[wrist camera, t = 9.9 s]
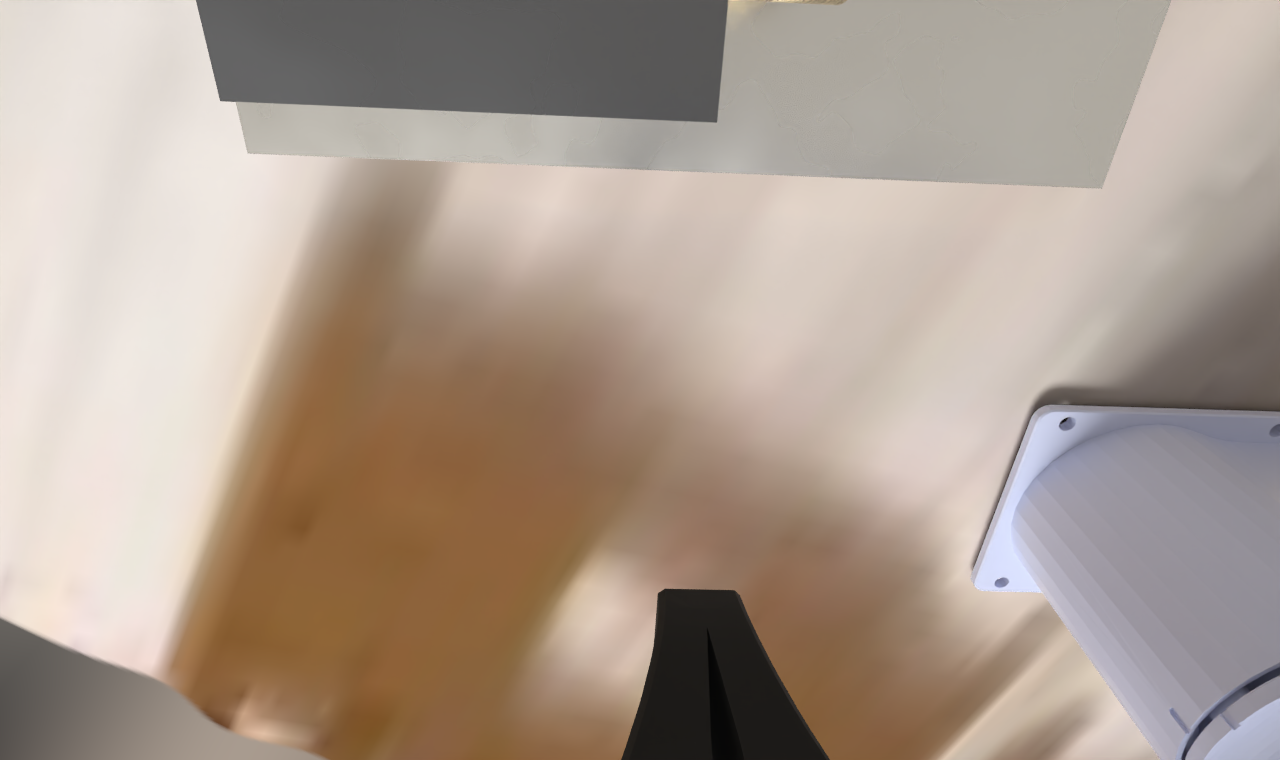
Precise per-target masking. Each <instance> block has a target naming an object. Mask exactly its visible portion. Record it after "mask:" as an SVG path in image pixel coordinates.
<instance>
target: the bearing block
mask: <svg viewBox="0 0 1280 760" xmlns="http://www.w3.org/2000/svg"><path fill="white" fill-rule="evenodd" d="M196 2H197V6H198V11H199V15H200V19H201V23H202V27H203V31H204V35H205V40H206V44H207V48H208V52H209V56H210V60H211V64H212V69H213V73H214V77H215V81H216V85H217V89H218V93H219V98H220V101H230V102H236V105H237V109H238V113H239V118H240V122H241V126H242V131H243V135H244V139H245V144H246V148H247V152H248V153H250V154H275V155H299V156H323V157H348V158H372V159H396V160H421V161H445V162H469V163H493V164H518V165H542V166H566V167H591V168H615V169H639V170H664V171H688V172H712V173H736V174H761V175H785V176H809V177H834V178H858V179H882V180H907V181H931V182H955V183H980V184H1004V185H1028V186H1052V187H1077V188H1101V189H1102V186H1103V184H1104V181H1105V178H1106V175H1107V173H1108V170H1109V167H1110V165H1111V162H1112V159H1113V157H1114V154H1115V151H1116V148H1117V146H1118V143H1119V140H1120V138H1121V135H1122V132H1123V130H1124V127H1125V124H1126V121H1127V119H1128V116H1129V113H1130V111H1131V108H1132V105H1133V102H1134V100H1135V97H1136V94H1137V92H1138V89H1139V86H1140V84H1141V81H1142V78H1143V75H1144V73H1145V70H1146V67H1147V65H1148V62H1149V59H1150V56H1151V54H1152V51H1153V48H1154V46H1155V43H1156V40H1157V38H1158V35H1159V32H1160V29H1161V27H1162V24H1163V21H1164V19H1165V16H1166V13H1167V11H1168V8H1169V5H1170V2H1171V0H847V1H845V2H844V3H843V4H840V5H822V4H802V3H782V2H761V1H755V0H196Z"/></svg>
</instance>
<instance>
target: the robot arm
mask: <svg viewBox="0 0 1280 760" xmlns="http://www.w3.org/2000/svg"><path fill="white" fill-rule="evenodd" d="M1067 417H1069V418H1068V419H1067V421H1065V422H1064V423H1062V424H1060V422H1061V421H1062V420H1063V419H1065V418H1067ZM999 578H1000V579H999ZM971 580H972V582H973V584H974V586H975V587H976V588H977V589H978V590H981V591H1007V592H1042V593H1043V595H1044V596H1045V597H1046V599H1047V600H1048V602H1049V603H1050V604H1051V606H1052V607H1053V609H1054V610H1055V612H1056V613H1057V614H1058V616H1059V617H1060V619H1061V620H1062V621H1063V623H1064V624H1065V626H1066V627H1067V628H1068V630H1069V631H1070V633H1071V634H1072V636H1073V637H1074V638H1075V640H1076V641H1077V643H1078V644H1079V645H1080V647H1081V648H1082V650H1083V651H1084V652H1085V654H1086V655H1087V657H1088V658H1089V660H1090V661H1091V662H1092V664H1093V665H1094V667H1095V668H1096V669H1097V671H1098V672H1099V674H1100V675H1101V676H1102V678H1103V679H1104V681H1105V682H1106V684H1107V685H1108V686H1109V688H1110V689H1111V691H1112V692H1113V693H1114V695H1115V696H1116V698H1117V699H1118V701H1119V702H1120V703H1121V705H1122V706H1123V708H1124V709H1125V710H1126V712H1127V713H1128V715H1129V716H1130V717H1131V719H1132V720H1133V722H1134V723H1135V725H1136V726H1137V727H1138V729H1139V730H1140V732H1141V733H1142V734H1143V736H1144V737H1145V739H1146V740H1147V741H1148V743H1149V744H1150V746H1151V747H1152V749H1153V750H1154V751H1155V753H1156V754H1157V756H1158V757H1159V758H1160V760H1280V412H1273V411H1241V410H1208V409H1176V408H1144V407H1111V406H1079V405H1045V406H1043V407H1041V408H1039V409H1038V410H1037V411H1035V412H1034V414H1033V415H1032V417H1031V420H1030V422H1029V425H1028V427H1027V430H1026V433H1025V435H1024V438H1023V441H1022V443H1021V446H1020V448H1019V451H1018V454H1017V456H1016V459H1015V461H1014V464H1013V467H1012V469H1011V472H1010V475H1009V477H1008V480H1007V482H1006V485H1005V488H1004V490H1003V493H1002V496H1001V498H1000V501H999V503H998V506H997V509H996V511H995V514H994V516H993V519H992V522H991V524H990V527H989V530H988V532H987V535H986V537H985V540H984V543H983V545H982V548H981V551H980V553H979V556H978V558H977V561H976V564H975V566H974V569H973V571H972V574H971ZM621 760H830V759H829V758H828V756H827V755H826V753H825V752H824V750H823V749H822V747H821V745H820V744H819V742H818V741H817V739H816V738H815V736H814V735H813V733H812V732H811V730H810V728H809V727H808V725H807V724H806V722H805V720H804V719H803V717H802V715H801V714H800V712H799V710H798V709H797V707H796V705H795V704H794V702H793V700H792V698H791V697H790V695H789V693H788V691H787V690H786V688H785V686H784V685H783V683H782V681H781V679H780V678H779V676H778V674H777V672H776V670H775V668H774V667H773V665H772V663H771V661H770V659H769V657H768V655H767V653H766V651H765V649H764V647H763V646H762V644H761V642H760V640H759V638H758V636H757V633H756V631H755V629H754V627H753V625H752V623H751V621H750V619H749V616H748V614H747V612H746V609H745V607H744V605H743V602H742V600H741V597H740V595H739V594H738V593H737V592H736V591H735V590H695V589H664V590H662V591H661V592H659V593H658V600H657V613H656V626H655V639H654V647H653V653H652V658H651V662H650V666H649V670H648V674H647V678H646V682H645V686H644V690H643V694H642V697H641V701H640V704H639V708H638V711H637V714H636V717H635V720H634V723H633V726H632V729H631V732H630V736H629V739H628V742H627V745H626V748H625V751H624V754H623V756H622V759H621Z"/></svg>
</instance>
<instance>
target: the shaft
mask: <svg viewBox="0 0 1280 760" xmlns="http://www.w3.org/2000/svg"><path fill="white" fill-rule="evenodd" d="M755 1H761V2H782V3H802V4H822V5H840V4H843V3H844V2H845V1H847V0H755Z"/></svg>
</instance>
